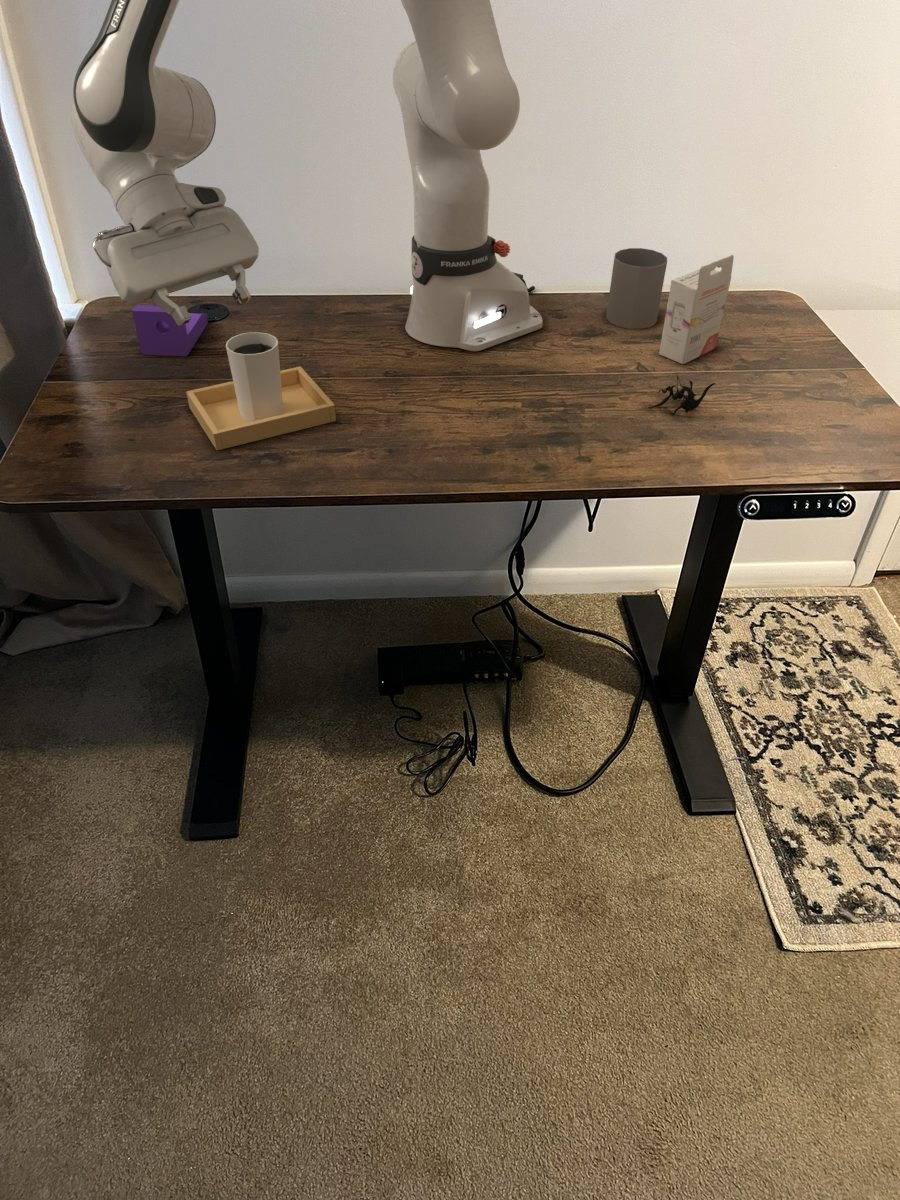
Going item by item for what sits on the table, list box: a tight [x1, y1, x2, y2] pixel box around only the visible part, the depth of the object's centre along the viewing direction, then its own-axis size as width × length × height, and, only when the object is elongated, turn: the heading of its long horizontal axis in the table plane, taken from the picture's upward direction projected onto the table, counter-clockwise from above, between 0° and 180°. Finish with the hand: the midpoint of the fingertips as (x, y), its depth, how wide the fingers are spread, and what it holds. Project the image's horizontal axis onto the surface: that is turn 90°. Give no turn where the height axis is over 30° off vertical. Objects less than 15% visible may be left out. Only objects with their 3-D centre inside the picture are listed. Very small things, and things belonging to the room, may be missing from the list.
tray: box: [185, 366, 337, 451], centre depth 117 cm, size 17×13×2 cm
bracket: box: [131, 304, 209, 357], centre depth 133 cm, size 12×7×7 cm, turn 177°
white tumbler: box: [225, 331, 283, 422], centre depth 115 cm, size 7×7×10 cm
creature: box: [648, 372, 717, 416], centre depth 119 cm, size 8×5×8 cm
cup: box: [605, 247, 668, 330], centre depth 140 cm, size 8×8×10 cm
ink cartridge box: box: [658, 254, 735, 365], centre depth 129 cm, size 9×5×15 cm, turn 131°
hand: (216, 311), depth 114 cm, fingers open, 8 cm apart
